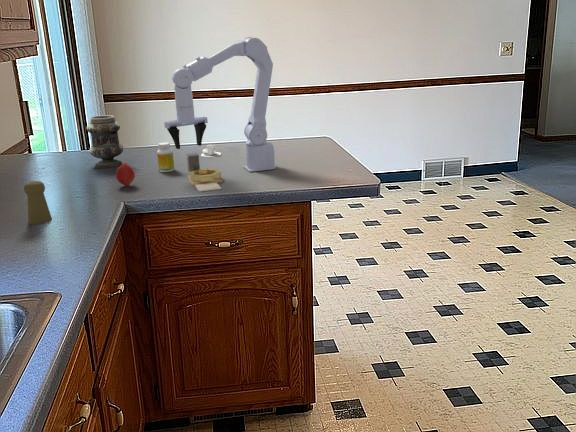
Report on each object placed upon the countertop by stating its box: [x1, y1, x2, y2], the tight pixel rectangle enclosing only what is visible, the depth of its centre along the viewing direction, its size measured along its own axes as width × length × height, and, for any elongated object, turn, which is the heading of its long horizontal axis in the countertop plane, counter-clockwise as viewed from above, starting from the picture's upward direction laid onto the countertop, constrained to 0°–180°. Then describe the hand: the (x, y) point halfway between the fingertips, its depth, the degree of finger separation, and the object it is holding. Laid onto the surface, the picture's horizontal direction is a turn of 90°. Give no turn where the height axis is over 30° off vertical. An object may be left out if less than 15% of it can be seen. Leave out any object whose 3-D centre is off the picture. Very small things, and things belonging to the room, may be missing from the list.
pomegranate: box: [115, 161, 136, 187], centre depth 192 cm, size 6×6×8 cm
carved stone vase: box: [86, 114, 124, 169], centre depth 220 cm, size 12×12×18 cm
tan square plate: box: [187, 175, 224, 186], centre depth 197 cm, size 10×10×1 cm
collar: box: [187, 168, 222, 182], centre depth 197 cm, size 10×10×2 cm
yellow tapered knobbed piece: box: [23, 180, 53, 226], centre depth 161 cm, size 6×6×11 cm
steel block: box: [186, 152, 201, 174], centre depth 204 cm, size 4×4×7 cm
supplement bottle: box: [156, 141, 175, 173], centre depth 210 cm, size 5×5×10 cm
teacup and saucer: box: [200, 144, 222, 158], centre depth 233 cm, size 9×8×4 cm
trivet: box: [194, 182, 222, 193], centre depth 188 cm, size 7×7×1 cm
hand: (188, 146), depth 201 cm, fingers open, 7 cm apart
